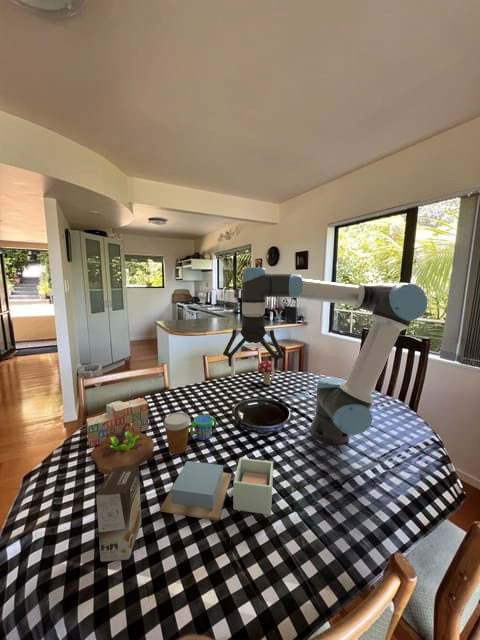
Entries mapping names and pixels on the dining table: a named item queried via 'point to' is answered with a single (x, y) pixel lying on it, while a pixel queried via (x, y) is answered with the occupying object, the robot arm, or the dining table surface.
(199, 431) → the snack cup
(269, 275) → the robot arm
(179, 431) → the disposable coffee cup
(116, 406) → the stack of blocks
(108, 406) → the skincare box
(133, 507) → the coffee box
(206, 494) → the lid
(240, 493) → the storage box
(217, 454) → the dining table surface
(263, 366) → the decorative mushroom
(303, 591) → the dining table surface
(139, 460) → the plant
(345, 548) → the dining table surface
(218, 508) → the cork mat
